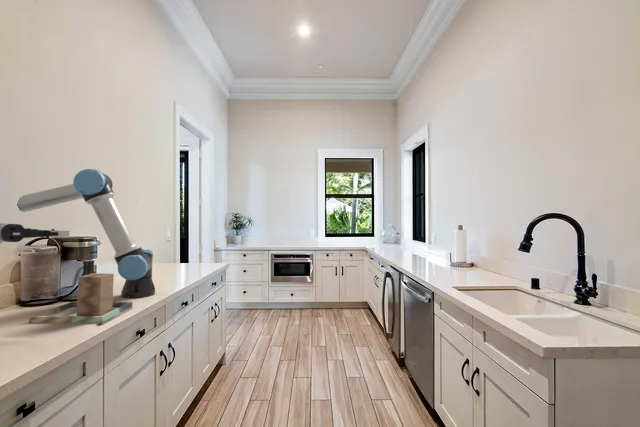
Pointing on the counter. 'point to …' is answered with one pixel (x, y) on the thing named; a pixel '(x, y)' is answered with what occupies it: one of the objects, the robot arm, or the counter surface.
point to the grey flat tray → (69, 315)
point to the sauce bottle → (88, 267)
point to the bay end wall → (110, 314)
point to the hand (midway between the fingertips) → (68, 234)
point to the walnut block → (95, 294)
